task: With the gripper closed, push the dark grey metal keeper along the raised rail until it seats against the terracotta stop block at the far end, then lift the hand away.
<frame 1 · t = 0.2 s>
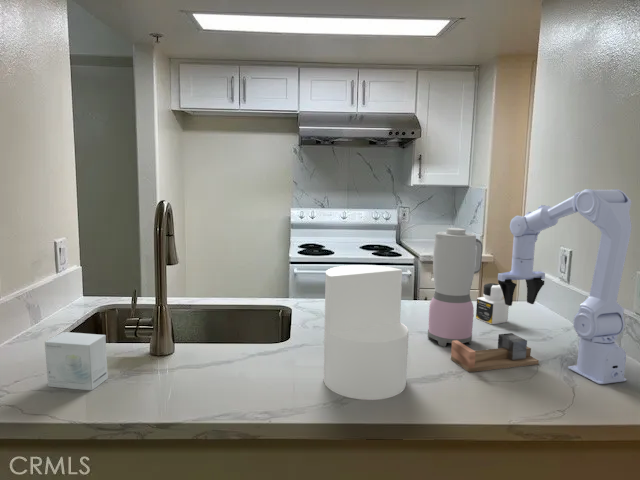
hand: (519, 304, 135), 10 cm above the counter, tool pointing down, fingers open, 7 cm apart
medicine bottle: (491, 320, 153), on the counter
rail board: (494, 361, 118), on the counter
cylinder: (364, 381, 107), on the counter
skincare box: (78, 383, 103), on the counter
blender: (453, 339, 134), on the counter
keeper: (511, 346, 119), point 4 cm above the counter, slide at 0.0 cm
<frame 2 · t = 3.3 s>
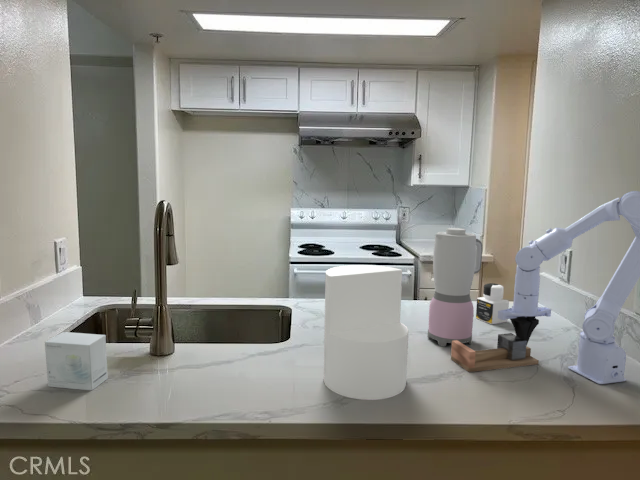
hand: (522, 344, 120), 4 cm above the counter, tool pointing down, fingers closed
keeper: (511, 346, 119), point 4 cm above the counter, slide at 0.2 cm, touching gripper
everything else where it was.
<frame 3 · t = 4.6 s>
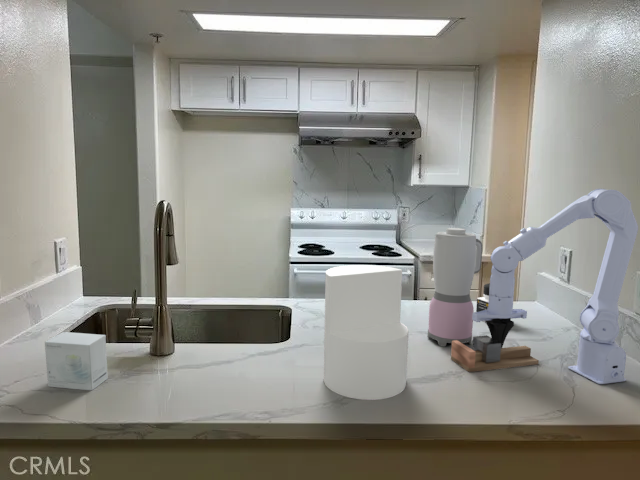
hand: (497, 347, 118), 4 cm above the counter, tool pointing down, fingers closed
keeper: (486, 348, 117), point 4 cm above the counter, slide at 7.6 cm, touching gripper
everything else where it was.
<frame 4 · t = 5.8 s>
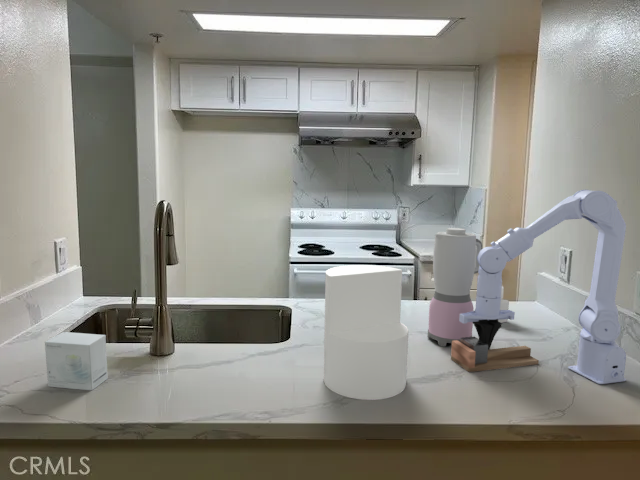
hand: (484, 348, 117), 4 cm above the counter, tool pointing down, fingers closed
keeper: (473, 350, 116), point 4 cm above the counter, slide at 11.3 cm, touching gripper
everything else where it was.
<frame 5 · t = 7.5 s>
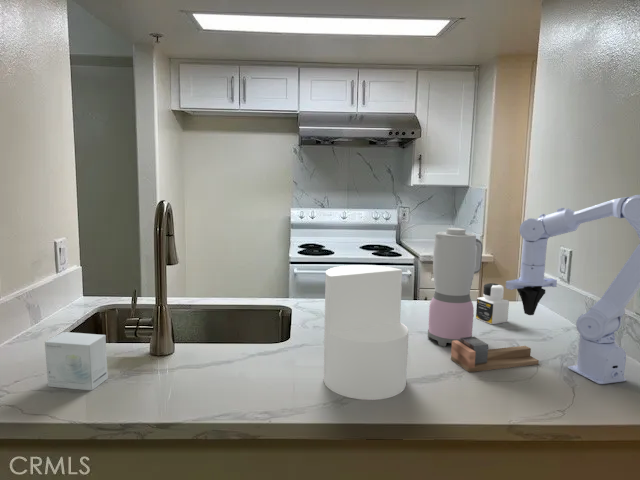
hand: (529, 314, 124), 10 cm above the counter, tool pointing down, fingers closed
keeper: (473, 350, 116), point 4 cm above the counter, slide at 11.3 cm
everything else where it was.
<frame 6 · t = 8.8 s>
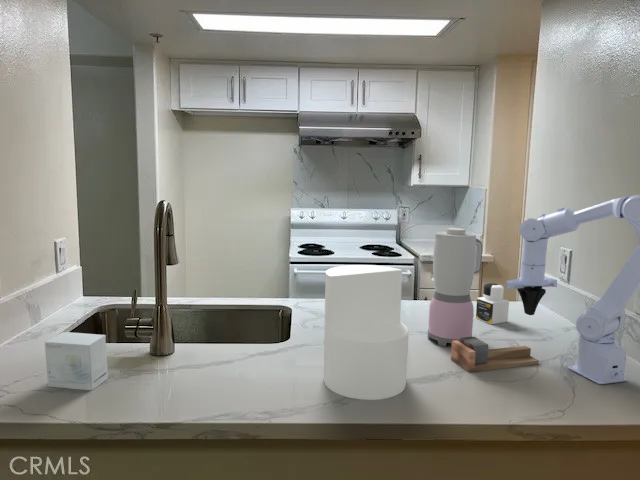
hand: (529, 314, 124), 10 cm above the counter, tool pointing down, fingers closed
nothing on the counter moved.
at the end: keeper slide at 11.3 cm; the gripper is holding nothing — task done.
